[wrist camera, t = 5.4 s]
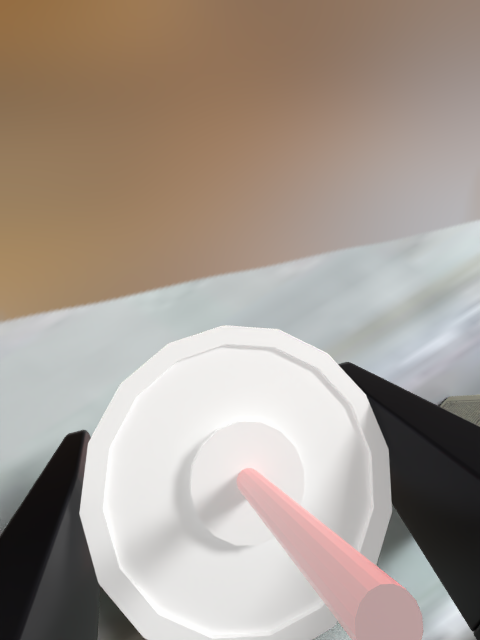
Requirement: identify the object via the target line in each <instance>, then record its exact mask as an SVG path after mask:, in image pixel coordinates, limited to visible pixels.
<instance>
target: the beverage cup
mask: <svg viewBox="0 0 480 640" xmlns="http://www.w3.org/2000/svg"><path fill="white" fill-rule="evenodd" d="M79 514H80V518H81V522H82V525H83V529H84V532H85V536H86V540H87V543H88V547H89V551H90V554H91V558H92V562H93V565H94V569H95V573H96V576H97V580H98V583H99V585H100V586H101V587H102V588H103V589H104V591H105V592H106V593H107V594H108V595H109V597H110V598H111V599H112V600H113V601H114V603H115V604H116V605H117V606H118V607H119V609H120V610H121V611H122V612H123V613H124V615H125V616H126V617H127V618H128V619H129V621H130V622H131V623H132V624H133V625H134V627H135V628H136V629H137V630H138V631H139V633H140V634H141V635H142V636H143V637H144V638H145V639H147V640H312V639H314V638H316V637H318V636H319V635H321V634H323V633H325V632H326V631H328V630H330V629H332V628H333V627H334V626H335V624H336V623H337V622H339V623H340V624H341V626H342V627H343V628H344V630H345V631H346V632H347V634H348V635H349V636H350V638H351V639H352V640H421V639H422V635H423V621H422V614H421V611H420V609H419V606H418V604H417V602H416V600H415V599H414V598H413V597H412V595H411V594H410V593H409V592H408V591H407V590H406V589H405V588H404V587H402V586H401V585H400V584H399V583H397V582H396V581H395V580H394V579H392V578H391V577H390V576H389V575H387V574H386V573H385V572H384V571H382V570H381V569H380V568H379V567H377V566H376V565H377V561H378V558H379V554H380V551H381V548H382V544H383V541H384V537H385V534H386V531H387V527H388V524H389V521H390V517H391V514H392V501H391V483H390V465H389V449H388V447H387V444H386V442H385V439H384V437H383V435H382V432H381V430H380V427H379V425H378V423H377V420H376V418H375V415H374V413H373V411H372V408H371V406H370V403H369V401H368V399H367V396H366V394H365V393H364V392H363V391H362V390H361V389H360V388H359V387H358V386H357V385H356V384H355V382H354V381H353V380H352V379H351V378H350V377H349V376H348V375H347V374H346V373H345V372H344V371H343V369H342V368H341V367H340V366H339V365H338V364H337V363H336V362H335V361H334V360H333V359H332V358H331V356H330V355H329V354H328V353H326V352H324V351H322V350H320V349H318V348H316V347H314V346H312V345H310V344H308V343H305V342H303V341H301V340H299V339H297V338H295V337H293V336H291V335H289V334H287V333H285V332H283V331H281V330H279V329H268V328H254V327H240V326H225V325H223V326H220V327H217V328H214V329H211V330H208V331H205V332H201V333H198V334H195V335H192V336H189V337H186V338H183V339H180V340H177V341H174V342H171V343H168V344H167V345H166V346H165V347H163V348H162V349H161V350H160V351H159V352H157V353H156V354H155V355H154V356H153V357H151V358H150V359H149V360H148V361H147V362H146V363H144V364H143V365H142V366H141V367H140V368H138V369H137V370H136V371H135V372H134V373H132V374H131V375H130V376H129V377H128V378H127V379H125V380H124V381H123V382H122V383H121V384H120V385H119V387H118V389H117V391H116V393H115V394H114V396H113V398H112V400H111V402H110V404H109V405H108V407H107V409H106V411H105V413H104V415H103V417H102V418H101V420H100V422H99V424H98V426H97V428H96V429H95V431H94V433H93V435H92V437H91V439H90V440H89V442H88V448H87V456H86V464H85V472H84V480H83V488H82V496H81V504H80V512H79Z"/></svg>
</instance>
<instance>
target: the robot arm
mask: <svg viewBox="0 0 480 640" xmlns="http://www.w3.org/2000/svg"><path fill="white" fill-rule="evenodd" d="M338 365H339V366H340V367H341V368H342V369H343V371H344V372H345V373H346V374H347V375H348V376H349V377H350V378H351V379H352V380H353V381H354V382H355V384H356V385H357V386H358V387H359V388H360V389H361V390H362V391H363V392H364V393H365V394H366V396H367V399H368V401H369V403H370V406H371V408H372V411H373V413H374V415H375V418H376V420H377V423H378V425H379V427H380V430H381V432H382V435H383V437H384V439H385V442H386V444H387V447H388V449H389V465H390V483H391V501H392V504H393V506H394V507H395V509H396V510H397V512H398V514H399V515H400V517H401V518H402V520H403V522H404V523H405V525H406V526H407V528H408V530H409V531H410V533H411V534H412V536H413V538H414V539H415V541H416V542H417V544H418V546H419V547H420V549H421V550H422V552H423V554H424V555H425V557H426V558H427V560H428V562H429V563H430V565H431V566H432V568H433V570H434V571H435V573H436V574H437V576H438V578H439V579H440V581H441V582H442V584H443V586H444V587H445V589H446V590H447V592H448V594H449V595H450V597H451V598H452V600H453V602H454V603H455V605H456V606H457V608H458V610H459V611H460V613H461V614H462V616H463V618H464V619H465V621H466V622H467V624H468V626H469V627H470V629H471V630H472V631H474V636H475V637H476V639H477V640H480V426H478V425H476V424H474V423H472V422H470V421H468V420H466V419H464V418H461V417H459V416H457V415H455V414H453V413H451V412H449V411H447V410H445V409H443V408H441V407H439V406H437V405H435V404H433V403H431V402H429V401H427V400H425V399H423V398H421V397H419V396H417V395H415V394H413V393H411V392H409V391H407V390H405V389H403V388H401V387H399V386H397V385H395V384H393V383H391V382H389V381H387V380H385V379H383V378H381V377H379V376H377V375H375V374H373V373H370V372H368V371H366V370H364V369H362V368H360V367H358V366H356V365H354V364H352V363H350V362H345V363H341V364H338ZM90 439H91V437H90V435H89V433H88V432H87V431H86V430H81V431H77V432H73V433H69V434H68V435H67V436H66V437H65V438H64V439H63V441H62V443H61V444H60V446H59V447H58V449H57V450H56V452H55V453H54V455H53V456H52V458H51V459H50V461H49V462H48V464H47V465H46V467H45V468H44V470H43V472H42V473H41V475H40V476H39V478H38V479H37V481H36V482H35V484H34V485H33V487H32V488H31V490H30V491H29V493H28V494H27V496H26V498H25V499H24V501H23V502H22V504H21V505H20V507H19V508H18V510H17V511H16V513H15V514H14V516H13V517H12V519H11V520H10V522H9V523H8V525H7V527H6V528H5V530H4V531H3V533H2V534H1V536H0V640H97V637H98V618H99V599H100V585H99V583H98V580H97V576H96V573H95V569H94V565H93V562H92V558H91V554H90V551H89V547H88V543H87V540H86V536H85V532H84V529H83V525H82V522H81V518H80V514H79V512H80V504H81V496H82V488H83V480H84V472H85V464H86V456H87V448H88V442H89V440H90Z"/></svg>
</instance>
